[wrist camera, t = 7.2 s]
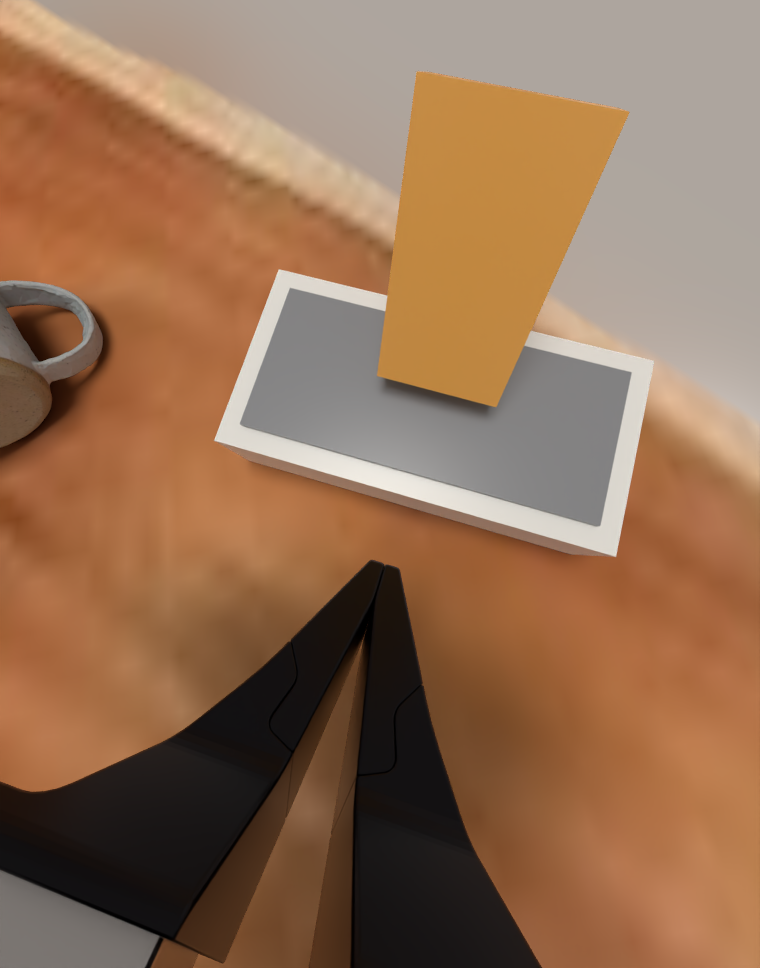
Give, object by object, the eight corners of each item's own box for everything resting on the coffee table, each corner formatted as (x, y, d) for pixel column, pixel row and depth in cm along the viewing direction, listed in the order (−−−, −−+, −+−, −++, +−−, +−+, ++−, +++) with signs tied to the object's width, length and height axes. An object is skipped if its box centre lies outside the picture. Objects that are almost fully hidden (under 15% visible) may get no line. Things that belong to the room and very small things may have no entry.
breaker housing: (569, 554, 19) (620, 556, 15) (248, 460, 21) (211, 438, 16) (603, 396, 20) (659, 357, 16) (299, 319, 22) (277, 264, 18)
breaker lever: (496, 407, 15) (629, 112, 8) (377, 375, 15) (416, 72, 9) (498, 385, 16) (618, 107, 9) (386, 356, 16) (428, 71, 10)
